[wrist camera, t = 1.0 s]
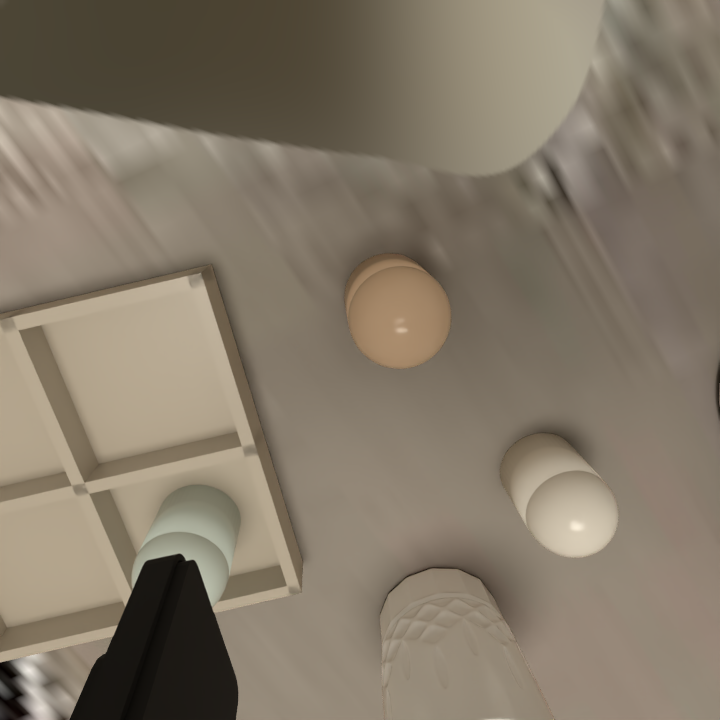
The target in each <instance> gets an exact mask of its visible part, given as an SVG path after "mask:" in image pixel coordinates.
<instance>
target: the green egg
mask: <svg viewBox="0 0 720 720" xmlns="http://www.w3.org/2000/svg"><path fill="white" fill-rule="evenodd" d="M240 526H241V516H240V512H239V510H238V507H237V505H236V504H235V502H234V501H233V500H232V499H231V498H230V497H229V496H228V495H227V494H226V493H224V492H223V491H221V490H219V489H217V488H214V487H211V486H206V485H189V486H185V487H182V488H179V489H177V490H175V491H174V492H172V493H171V494H170V495H168V497H167V498H166V499H165V500H164V501H163V503H162V505H161V507H160V509H159V511H158V513H157V515H156V517H155V519H154V521H153V523H152V525H151V527H150V529H149V531H148V533H147V536H146V538H145V540H144V542H143V544H142V546H141V548H140V550H139V552H138V554H137V556H136V559H135V561H134V564H133V569H132V575H131V577H132V589H133V588H134V585H135V583H136V581H137V578H138V576H139V573H140V571H141V569H142V566H143V564H144V563H145V562H146V561H147V560H151V559H155V558H160V557H165V556H169V555H174V554H179V553H180V554H182V555H183V556H184V557H185V559H186V561H188V560H195V561H196V563H197V565H198V568H199V571H200V573H201V576H202V579H203V582H204V585H205V588H206V591H207V594H208V597H209V600H210V603H211V606H212V608H213V607H214V606H215V604H216V603H217V602H218V601H219V599H220V598H221V596H222V594H223V592H224V591H225V588H226V586H227V582H228V579H229V574H230V570H231V566H232V561H233V557H234V552H235V548H236V544H237V539H238V535H239V531H240Z"/></svg>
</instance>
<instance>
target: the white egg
mask: <svg viewBox="0 0 720 720" xmlns="http://www.w3.org/2000/svg"><path fill="white" fill-rule="evenodd" d="M500 479H501V482H502V485H503V487H504V488H505V490H506V492H507V494H508V495H509V497H510V499H511V500H512V502H513V504H514V505H515V507H516V509H517V510H518V512H519V514H520V516H521V517H522V519H523V521H524V522H525V524H526V526H527V527H528V529H529V531H530V532H531V534H532V535H533V537H534V538H535V539H536V540H537V541H538V542H539V543H540V544H541V545H542V546H543V547H544V548H546V549H548V550H549V551H551V552H553V553H555V554H557V555H560V556H564V557H570V558H580V557H586V556H590V555H592V554H595V553H597V552H599V551H600V550H602V549H603V548H604V547H605V546H606V545H607V544H608V543H609V542H610V541H611V539H612V538H613V536H614V534H615V532H616V529H617V525H618V520H619V512H618V505H617V502H616V499H615V496H614V494H613V493H612V491H611V489H610V488H609V486H608V485H607V484H606V483H605V481H604V480H603V479H602V478H601V477H600V476H599V475H598V474H597V473H596V472H595V471H594V470H593V469H592V467H591V466H590V465H589V464H588V463H587V462H586V461H585V460H584V459H583V458H582V457H581V456H580V455H579V454H578V452H577V451H576V450H575V449H574V448H573V447H572V446H571V445H570V444H569V443H568V442H567V441H566V440H565V439H563V438H561V437H559V436H557V435H554V434H550V433H537V434H532V435H529V436H527V437H524V438H522V439H521V440H519V441H517V442H516V443H515V444H514V445H513V446H511V447H510V449H509V450H508V451H507V453H506V454H505V456H504V458H503V460H502V463H501V467H500Z"/></svg>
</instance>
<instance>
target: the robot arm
mask: <svg viewBox="0 0 720 720" xmlns="http://www.w3.org/2000/svg"><path fill="white" fill-rule="evenodd" d="M719 405H720V385H719ZM237 706H238V685H237V680H236V676H235V673H234V670H233V667H232V664H231V661H230V658H229V655H228V652H227V649H226V647H225V644H224V641H223V638H222V635H221V632H220V629H219V626H218V623H217V620H216V617H215V614H214V611H213V609H212V606H211V603H210V600H209V597H208V594H207V591H206V588H205V585H204V582H203V579H202V576H201V573H200V571H199V568H198V565H197V563H196V561H195V560H188V561H186V559H185V557H184V556H183V555H182V554H180V553H179V554H174V555H169V556H165V557H160V558H155V559H151V560H147V561H146V562H145V563H144V564H143V566H142V569H141V571H140V573H139V576H138V578H137V581H136V583H135V585H134V588H133V590H132V592H131V595H130V597H129V600H128V602H127V604H126V607H125V609H124V612H123V614H122V616H121V619H120V621H119V624H118V626H117V628H116V631H115V633H114V635H113V638H112V640H111V643H110V645H109V647H108V650H107V652H106V654H103V655H102V656H101V657H99V658H98V659H97V660H96V662H95V664H94V666H93V667H92V669H91V672H90V674H89V676H88V679H87V681H86V683H85V685H84V688H83V690H82V692H81V695H80V697H79V699H78V702H77V704H76V706H75V708H74V711H73V713H72V715H71V718H70V720H236V713H237Z"/></svg>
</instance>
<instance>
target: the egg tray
mask: <svg viewBox="0 0 720 720" xmlns="http://www.w3.org/2000/svg"><path fill="white" fill-rule="evenodd" d="M189 485H206V486H211V487H214V488H217V489H219V490H221V491H223V492H224V493H226V494H227V495H228V496H229V497H230V498H231V499H232V500H233V501H234V502H235V504H236V505H237V507H238V510H239V512H240V516H241V526H240V531H239V535H238V539H237V544H236V548H235V552H234V557H233V561H232V566H231V570H230V574H229V579H228V582H227V586H226V588H225V591H224V592H223V594H222V596H221V598H220V599H219V601H218V602H217V603H216V604H215V606H214V607H213V608H212V609H213V611H214V613H216V612H221V611H225V610H229V609H234V608H238V607H242V606H247V605H251V604H255V603H260V602H264V601H268V600H273V599H277V598H281V597H286V596H290V595H294V594H299V593H302V572H303V561H302V558H301V554H300V551H299V548H298V545H297V541H296V538H295V535H294V532H293V528H292V525H291V522H290V519H289V515H288V512H287V509H286V505H285V502H284V499H283V496H282V492H281V489H280V486H279V483H278V479H277V476H276V473H275V470H274V466H273V463H272V460H271V457H270V453H269V450H268V447H267V444H266V440H265V437H264V434H263V430H262V427H261V424H260V421H259V417H258V414H257V411H256V408H255V404H254V401H253V398H252V395H251V391H250V388H249V385H248V382H247V378H246V375H245V372H244V369H243V365H242V362H241V359H240V356H239V352H238V349H237V346H236V342H235V339H234V336H233V333H232V329H231V326H230V323H229V320H228V316H227V313H226V310H225V307H224V303H223V300H222V297H221V294H220V290H219V287H218V284H217V281H216V277H215V274H214V271H213V267H212V264H211V265H207V266H202V267H198V268H194V269H190V270H185V271H181V272H177V273H173V274H168V275H164V276H160V277H155V278H151V279H147V280H143V281H138V282H134V283H130V284H126V285H121V286H117V287H113V288H108V289H104V290H100V291H96V292H91V293H87V294H83V295H79V296H74V297H70V298H66V299H61V300H57V301H53V302H49V303H44V304H40V305H36V306H32V307H27V308H23V309H19V310H14V311H10V312H6V313H2V314H0V662H4V661H8V660H12V659H17V658H21V657H25V656H30V655H34V654H38V653H43V652H47V651H51V650H56V649H60V648H64V647H69V646H73V645H77V644H82V643H86V642H90V641H95V640H99V639H103V638H108V637H112V636H113V635H114V633H115V631H116V628H117V626H118V624H119V621H120V619H121V616H122V614H123V612H124V609H125V607H126V604H127V602H128V600H129V597H130V595H131V592H132V590H133V589H132V577H131V575H132V569H133V564H134V561H135V559H136V556H137V554H138V552H139V550H140V548H141V546H142V544H143V542H144V540H145V538H146V536H147V533H148V531H149V529H150V527H151V525H152V523H153V521H154V519H155V517H156V515H157V513H158V511H159V509H160V507H161V505H162V503H163V501H164V500H165V499H166V498H167V497H168V495H170V494H171V493H172V492H174V491H175V490H177V489H179V488H182V487H185V486H189Z"/></svg>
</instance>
